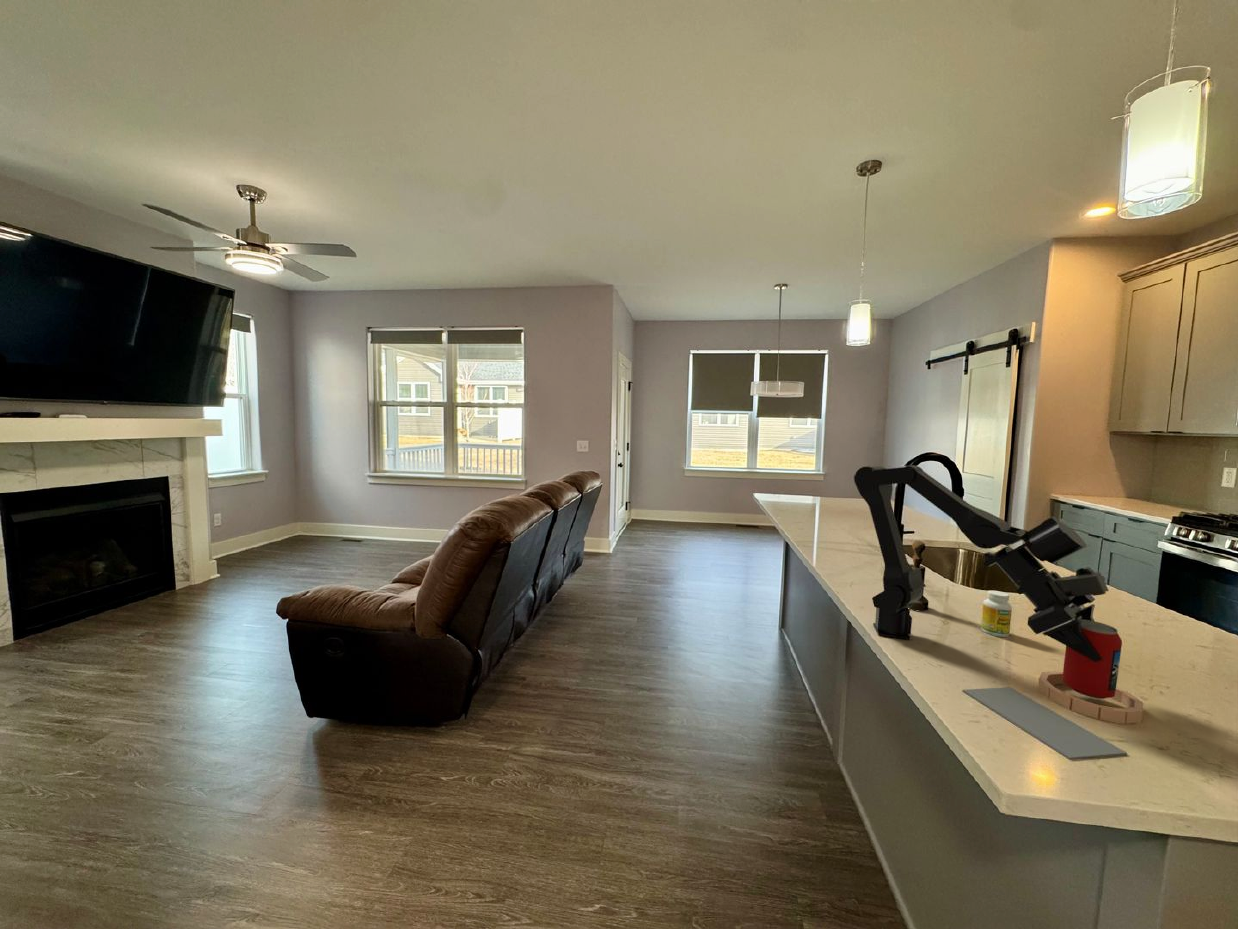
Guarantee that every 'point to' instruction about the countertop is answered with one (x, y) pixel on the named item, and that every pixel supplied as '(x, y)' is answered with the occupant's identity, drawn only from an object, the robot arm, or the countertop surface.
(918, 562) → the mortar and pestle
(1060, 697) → the segmented polygon ring
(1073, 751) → the mat
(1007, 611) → the supplement bottle
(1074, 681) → the beverage can
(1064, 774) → the countertop surface
